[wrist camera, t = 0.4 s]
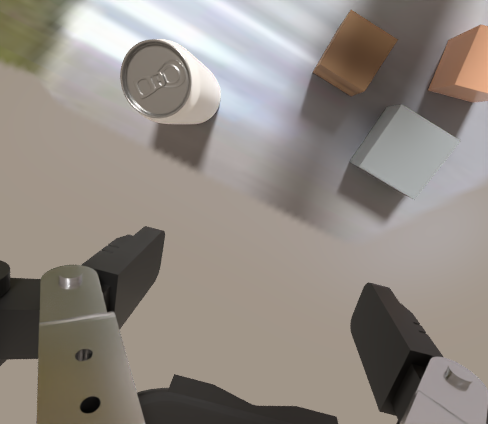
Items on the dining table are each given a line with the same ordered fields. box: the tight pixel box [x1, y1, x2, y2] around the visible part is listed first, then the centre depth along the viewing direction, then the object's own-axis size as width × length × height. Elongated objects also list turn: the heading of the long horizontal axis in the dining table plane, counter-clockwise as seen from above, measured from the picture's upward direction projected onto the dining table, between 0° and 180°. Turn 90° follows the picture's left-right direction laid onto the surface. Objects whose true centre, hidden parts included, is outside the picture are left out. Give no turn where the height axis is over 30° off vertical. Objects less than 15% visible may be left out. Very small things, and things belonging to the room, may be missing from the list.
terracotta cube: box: [428, 25, 488, 102], centre depth 29 cm, size 5×5×5 cm
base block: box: [350, 104, 460, 200], centre depth 32 cm, size 7×7×4 cm
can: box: [120, 39, 221, 124], centre depth 29 cm, size 6×6×12 cm
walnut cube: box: [313, 10, 398, 96], centre depth 30 cm, size 5×5×5 cm
